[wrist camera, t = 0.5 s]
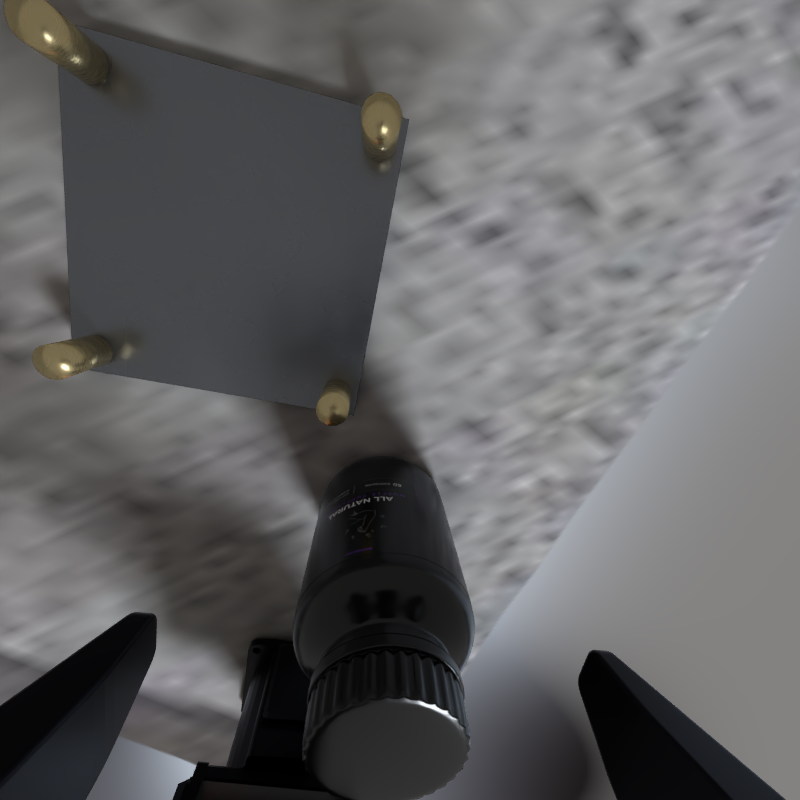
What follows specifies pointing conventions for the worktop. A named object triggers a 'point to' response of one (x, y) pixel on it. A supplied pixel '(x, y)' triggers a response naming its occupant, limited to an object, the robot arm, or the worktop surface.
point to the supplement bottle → (383, 637)
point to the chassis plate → (215, 220)
